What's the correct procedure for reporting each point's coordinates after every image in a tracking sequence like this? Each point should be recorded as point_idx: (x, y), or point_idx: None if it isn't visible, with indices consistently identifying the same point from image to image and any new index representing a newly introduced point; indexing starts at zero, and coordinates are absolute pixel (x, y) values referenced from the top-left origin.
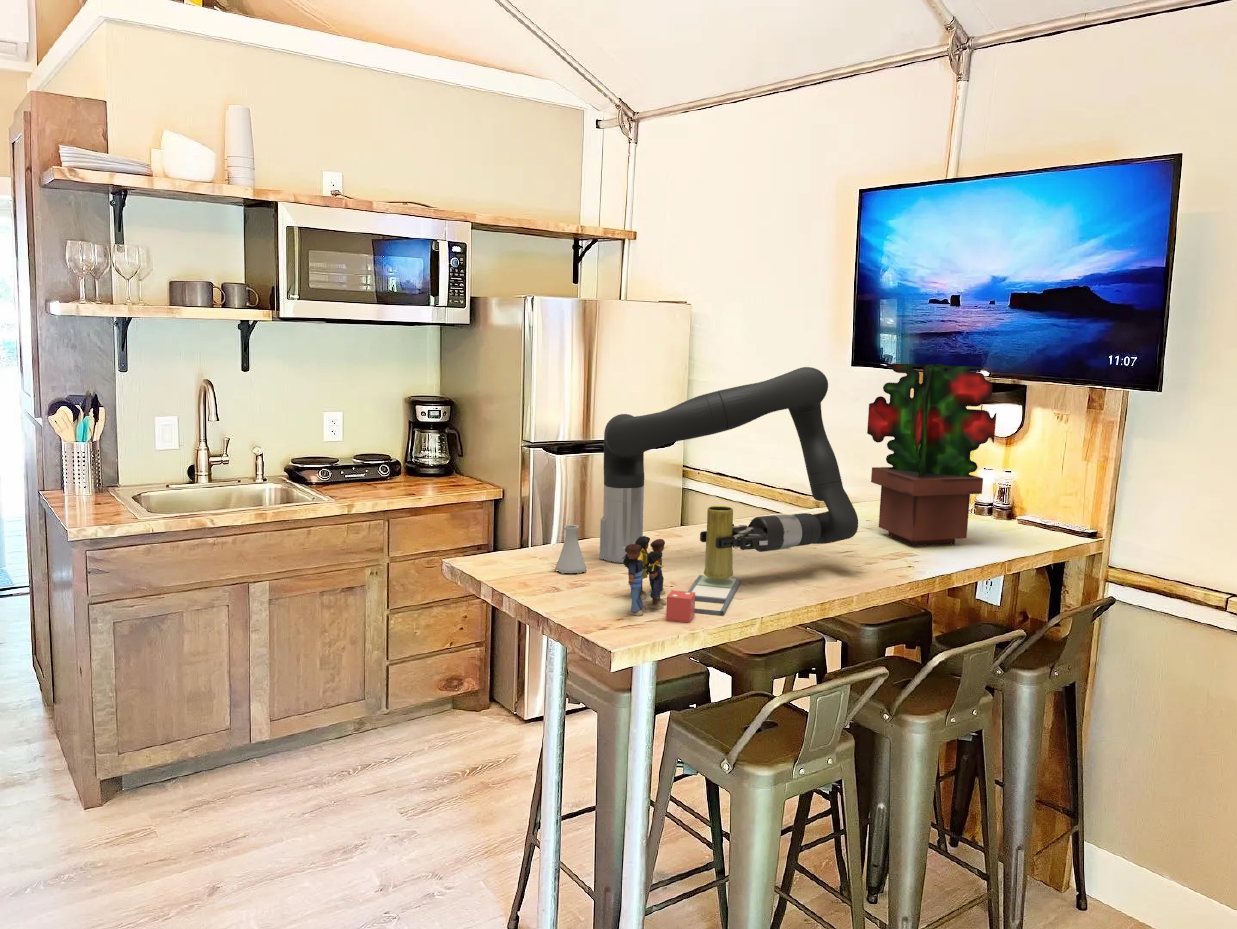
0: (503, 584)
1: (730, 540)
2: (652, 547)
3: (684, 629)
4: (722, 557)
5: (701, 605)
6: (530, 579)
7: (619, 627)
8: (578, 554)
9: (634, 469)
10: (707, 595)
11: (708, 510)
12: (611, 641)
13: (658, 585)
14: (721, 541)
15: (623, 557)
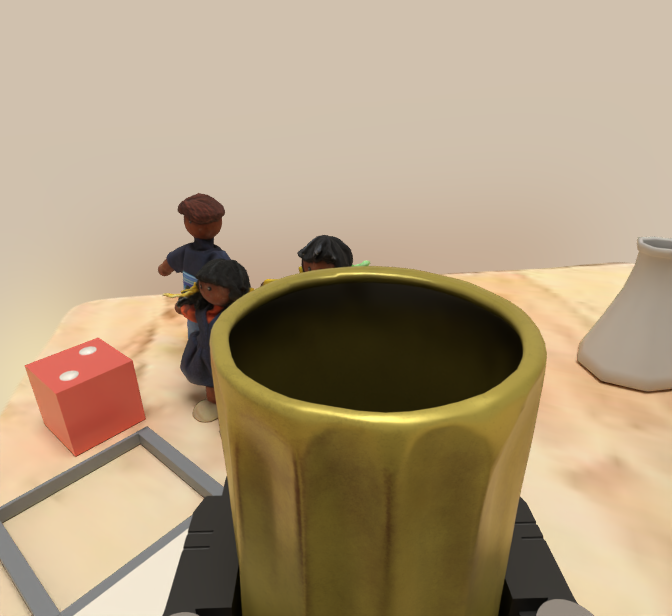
0: (493, 281)
1: (175, 578)
2: None
3: (26, 399)
4: None
5: (134, 521)
6: (529, 307)
7: (153, 328)
8: (618, 325)
9: None
10: (165, 561)
11: (385, 280)
12: (105, 307)
13: (189, 348)
14: (204, 500)
15: None
